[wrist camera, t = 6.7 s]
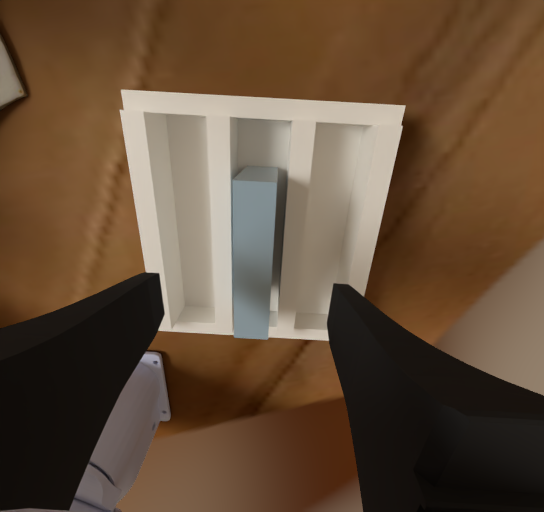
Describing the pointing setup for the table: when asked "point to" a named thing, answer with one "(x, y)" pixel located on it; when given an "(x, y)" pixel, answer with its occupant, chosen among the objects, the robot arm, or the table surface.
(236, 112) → the rack
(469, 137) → the table surface
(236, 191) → the tile
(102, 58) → the table surface
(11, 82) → the ceramic fragment
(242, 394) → the table surface
